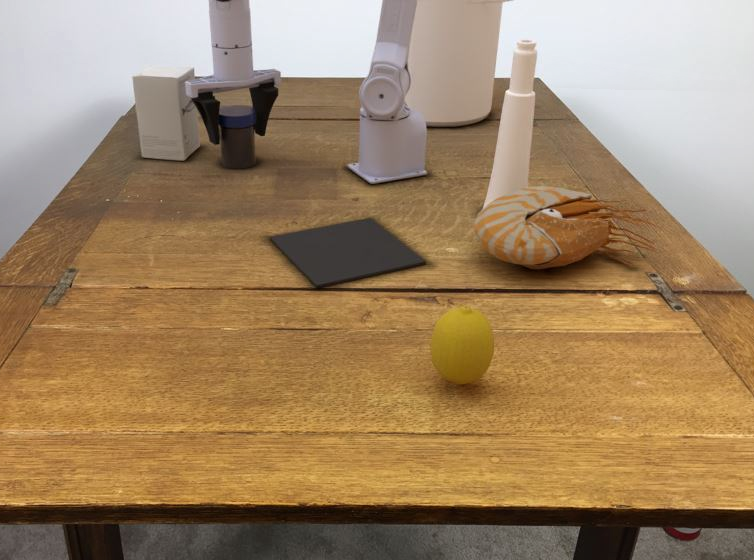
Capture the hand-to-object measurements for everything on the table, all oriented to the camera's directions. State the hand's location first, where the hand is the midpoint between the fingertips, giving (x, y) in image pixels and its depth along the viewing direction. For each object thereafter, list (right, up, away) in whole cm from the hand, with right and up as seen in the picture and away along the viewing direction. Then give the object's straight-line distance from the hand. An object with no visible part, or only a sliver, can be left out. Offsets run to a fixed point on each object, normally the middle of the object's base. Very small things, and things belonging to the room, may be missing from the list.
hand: (237, 138), depth 119 cm
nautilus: (+42, -21, -26) cm, 53 cm away
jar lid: (0, +3, -2) cm, 4 cm away
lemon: (+26, -34, -47) cm, 64 cm away
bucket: (+33, +11, +26) cm, 44 cm away
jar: (0, -3, +2) cm, 4 cm away
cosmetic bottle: (+37, -14, -15) cm, 42 cm away
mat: (+16, -20, -24) cm, 35 cm away
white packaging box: (-11, -1, +6) cm, 13 cm away
